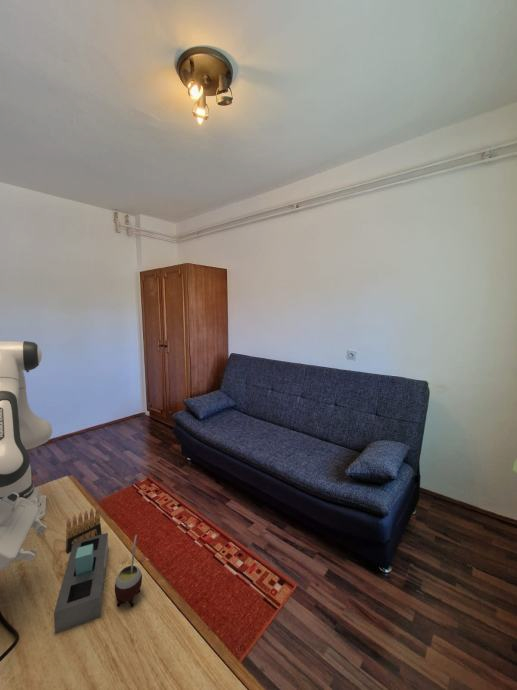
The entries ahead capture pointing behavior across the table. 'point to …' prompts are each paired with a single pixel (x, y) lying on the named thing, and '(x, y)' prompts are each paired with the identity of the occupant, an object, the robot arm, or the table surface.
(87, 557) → the square peg
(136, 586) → the mate gourd
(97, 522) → the ammunition clip
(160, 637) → the table surface
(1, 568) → the robot arm
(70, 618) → the block with square holes
